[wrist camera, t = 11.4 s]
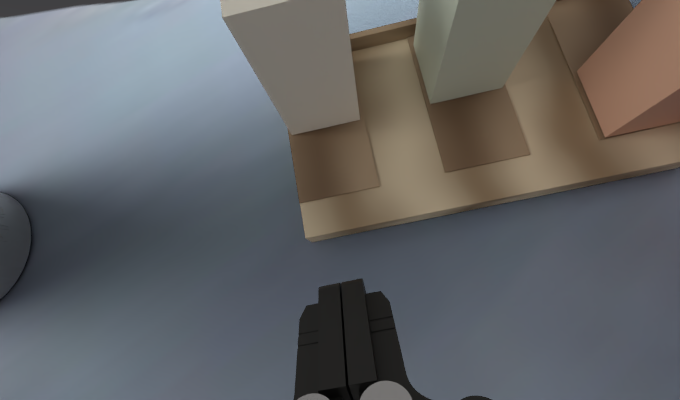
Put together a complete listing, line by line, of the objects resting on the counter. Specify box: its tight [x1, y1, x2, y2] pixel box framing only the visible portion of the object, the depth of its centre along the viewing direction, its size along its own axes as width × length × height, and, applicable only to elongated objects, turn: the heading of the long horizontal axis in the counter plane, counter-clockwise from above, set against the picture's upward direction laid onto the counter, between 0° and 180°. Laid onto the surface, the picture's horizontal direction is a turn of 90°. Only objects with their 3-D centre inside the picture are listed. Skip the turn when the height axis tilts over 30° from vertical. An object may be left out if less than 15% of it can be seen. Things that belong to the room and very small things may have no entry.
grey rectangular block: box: [220, 0, 360, 135], centre depth 17 cm, size 4×4×10 cm
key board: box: [288, 0, 680, 242], centre depth 22 cm, size 23×12×3 cm, turn 100°
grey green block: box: [413, 0, 556, 104], centre depth 17 cm, size 4×4×10 cm
